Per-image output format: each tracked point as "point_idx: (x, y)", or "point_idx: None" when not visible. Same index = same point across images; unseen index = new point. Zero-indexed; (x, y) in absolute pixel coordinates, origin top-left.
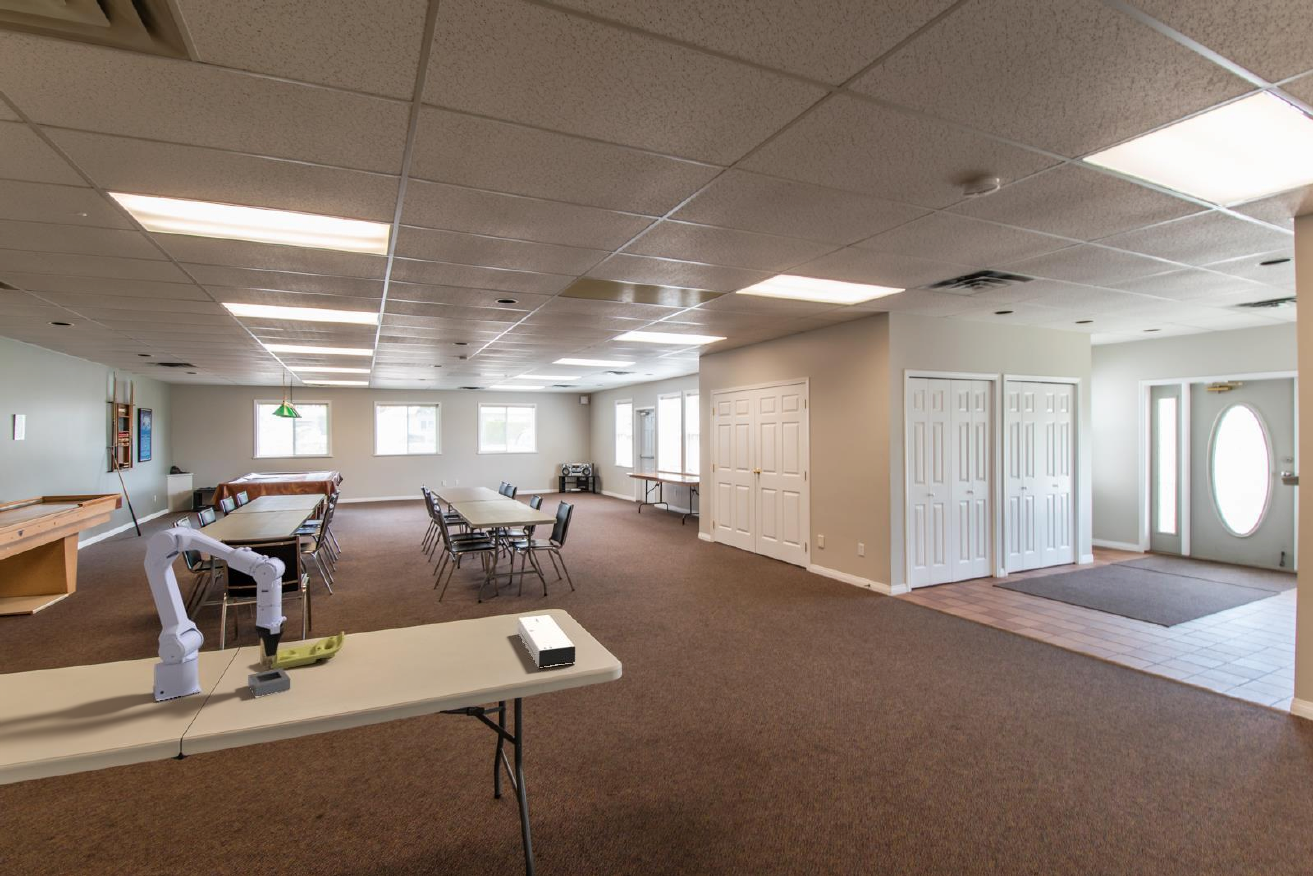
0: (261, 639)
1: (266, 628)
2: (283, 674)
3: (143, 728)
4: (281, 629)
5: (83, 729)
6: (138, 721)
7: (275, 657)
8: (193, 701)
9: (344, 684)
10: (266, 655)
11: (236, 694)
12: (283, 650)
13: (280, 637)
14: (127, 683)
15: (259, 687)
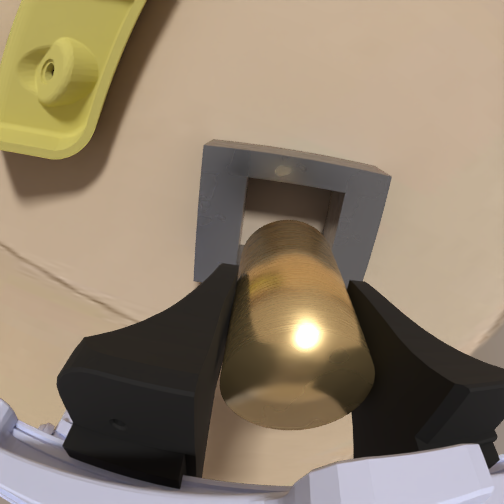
0: (301, 429)
1: (200, 448)
2: (309, 172)
3: (297, 446)
4: (483, 406)
5: (220, 473)
6: (252, 446)
7: (334, 259)
8: (217, 382)
9: (468, 24)
10: None
11: None
12: (4, 91)
13: (462, 356)
14: (32, 393)
15: None
